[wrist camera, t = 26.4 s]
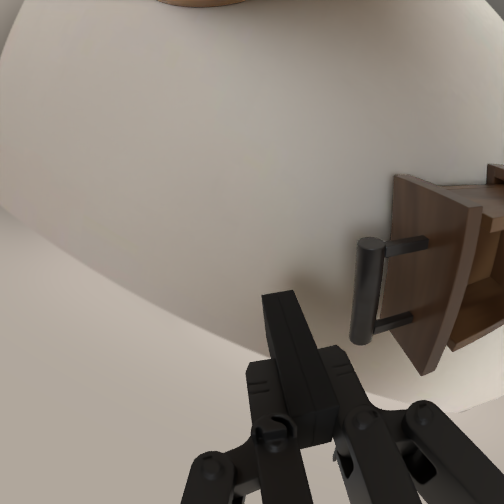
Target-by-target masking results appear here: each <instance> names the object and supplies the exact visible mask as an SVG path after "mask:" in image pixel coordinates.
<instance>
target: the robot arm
mask: <svg viewBox="0 0 504 504" xmlns="http://www.w3.org/2000/svg"><path fill="white" fill-rule="evenodd" d="M261 296H262V305H263V313H264V321H265V330H266V338H267V343H268V347H269V352H270V356H271V359H267V360H261V361H256V362H250V363H249V365H248V368H247V370H246V381H247V388H248V396H249V404H250V411H251V419H252V428H251V436H250V437H249V439H248V440H247V441H246V442H245V443H244V444H243V445H241V446H239V447H237V448H235V449H232V450H230V451H227V452H225V453H221V452H218V451H208V452H205V453H203V454H200V455H199V456H198V457H197V458H196V459H195V460H194V462H193V464H192V465H191V469H190V473H189V476H188V479H187V483H186V486H185V490H184V493H183V497H182V500H181V504H244V502H245V496H246V495H247V494H249V493H252V492H254V491H256V490H259V489H261V496H262V503H263V504H313V500H312V496H311V492H310V489H309V484H308V480H307V476H306V472H305V468H304V464H303V460H302V456H301V452H300V449H303V448H308V447H312V446H316V445H320V444H324V443H328V442H331V441H332V437H333V439H334V442H335V445H336V448H335V451H334V454H333V461H336V459H337V462H338V465H339V468H340V471H341V474H342V478H343V481H344V484H345V487H346V490H347V494H348V497H349V500H350V503H351V504H422V503H421V500H420V497H419V495H418V493H419V494H420V495H421V496H422V497H423V499H424V500H425V501H426V502H427V503H428V504H504V474H503V473H502V472H501V471H500V470H499V469H498V468H497V467H496V466H495V465H494V464H493V463H492V462H491V461H490V460H489V459H488V457H487V456H486V455H484V453H483V452H482V451H481V450H480V449H479V448H478V447H477V446H476V445H475V444H474V443H473V442H472V441H471V440H470V439H469V438H468V437H467V436H466V435H465V434H464V433H463V432H462V431H461V430H460V429H459V428H458V427H457V426H456V425H455V424H454V422H452V420H451V419H450V418H449V417H448V416H447V415H446V414H445V413H444V412H443V411H442V410H441V409H440V408H439V407H438V406H437V405H435V404H434V403H432V402H431V401H426V400H421V401H417V402H415V403H412V404H411V406H410V407H409V408H408V409H406V410H392V411H389V410H382V409H379V408H377V407H375V406H374V405H373V404H372V403H371V402H370V401H369V399H368V397H367V395H366V393H365V391H364V389H363V387H362V385H361V383H360V381H359V378H358V376H357V374H356V372H355V371H354V368H353V366H352V364H351V363H350V360H349V358H348V356H347V354H346V352H345V351H343V350H342V349H341V348H340V347H339V346H337V345H333V346H329V347H325V348H320V349H317V346H316V344H315V341H314V339H313V336H312V334H311V331H310V329H309V327H308V324H307V322H306V319H305V317H304V314H303V312H302V310H301V307H300V305H299V303H298V300H297V298H296V295H295V293H294V291H293V290H289V291H283V292H277V293H271V294H265V295H261ZM417 491H418V493H417Z"/></svg>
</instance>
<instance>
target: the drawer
mask: <svg viewBox="0 0 504 504" xmlns="http://www.w3.org/2000/svg"><path fill="white" fill-rule="evenodd" d="M384 257H385V258H387V257H389V260H388V268H387V276H386V283H385V290H384V296H383V303H382V308H381V314H380V318H381V319H379V320H376V315H377V309H378V303H379V297H380V290H381V282H382V275H383V266H384ZM502 325H504V184H494V185H463V186H442V187H439V186H437V185H434V184H432V183H429V182H427V181H424V180H422V179H419V178H416V177H414V176H411V175H394V187H393V212H392V228H391V240H390V241H386V242H384V241H383V240H381V239H379V238H375V237H364V238H361V239H359V240H358V241H357V253H356V270H355V284H354V295H353V306H352V315H351V324H350V332H349V339H350V341H351V342H352V343H353V344H356V345H366V344H368V343H370V342H371V340H372V336H373V334H374V335H375V334H378V333H382V332H385V331H388V330H390V332H391V333H392V335H393V336H394V338H395V339H396V340H397V342H398V343H399V345H400V346H401V348H402V349H403V350H404V352H405V353H406V355H407V356H408V358H409V359H410V361H411V362H412V364H413V365H414V367H415V368H416V370H417V371H418V373H419V374H420V376H424V375H426V374H428V373H430V372H433V371H435V369H436V367H437V365H438V363H439V360H440V358H441V356H442V354H443V351H444V349H445V347H446V345H447V346H448V347H449V348H450V350H451V351H452V352H454V351H456V350H458V349H460V348H462V347H464V346H466V345H468V344H470V343H472V342H474V341H476V340H478V339H479V338H481V337H483V336H485V335H487V334H488V333H490V332H492V331H494V330H495V329H497V328H499V327H500V326H502Z"/></svg>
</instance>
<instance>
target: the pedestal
mask: <svg viewBox="0 0 504 504" xmlns="http://www.w3.org/2000/svg"><path fill="white" fill-rule="evenodd" d="M157 1H160V2H163V3H167V4H171V5H178V6H186V7H212V6H222V5H228V4H233V3H238V2H242V1H245V0H157Z"/></svg>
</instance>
